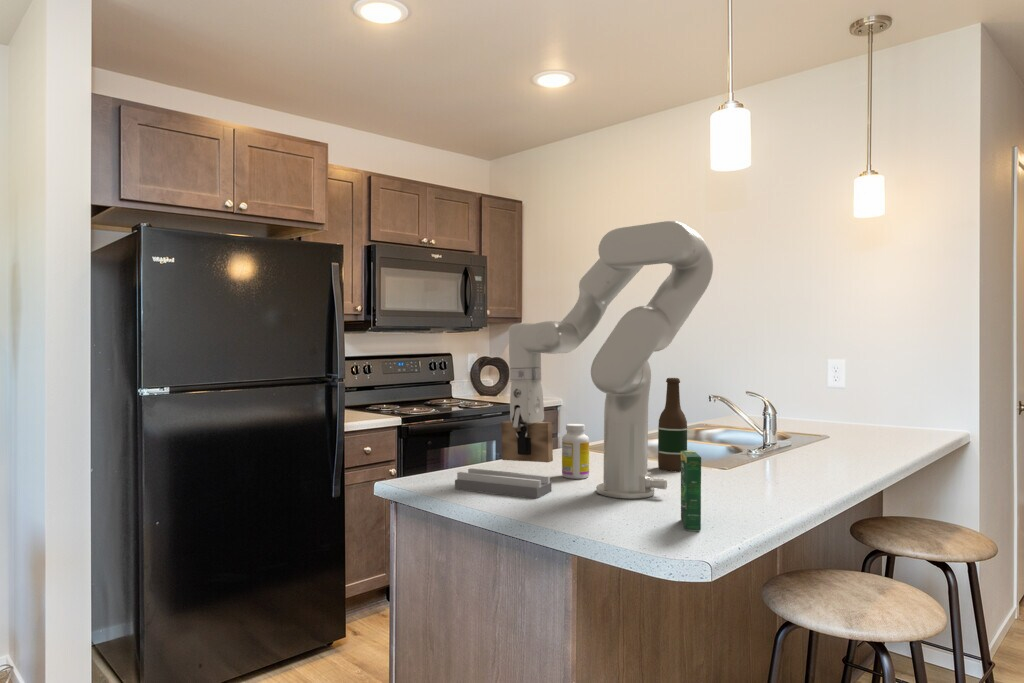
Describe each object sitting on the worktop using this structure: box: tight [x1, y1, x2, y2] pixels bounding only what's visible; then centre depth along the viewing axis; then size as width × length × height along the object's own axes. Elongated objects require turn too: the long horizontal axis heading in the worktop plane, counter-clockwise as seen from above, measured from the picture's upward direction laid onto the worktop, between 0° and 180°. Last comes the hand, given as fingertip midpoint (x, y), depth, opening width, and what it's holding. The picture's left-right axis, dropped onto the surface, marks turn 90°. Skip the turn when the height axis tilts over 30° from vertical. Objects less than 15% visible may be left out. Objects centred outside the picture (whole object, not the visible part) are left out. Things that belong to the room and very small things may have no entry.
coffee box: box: [680, 450, 702, 532], centre depth 122 cm, size 8×3×13 cm, turn 172°
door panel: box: [500, 420, 554, 463], centre depth 159 cm, size 12×2×9 cm, turn 64°
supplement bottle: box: [561, 423, 590, 480], centre depth 165 cm, size 7×7×13 cm
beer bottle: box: [657, 377, 688, 473], centre depth 177 cm, size 8×8×24 cm
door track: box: [454, 467, 553, 499], centre depth 149 cm, size 20×8×4 cm, turn 64°
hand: (527, 452), depth 159 cm, fingers closed on door panel, 2 cm apart
